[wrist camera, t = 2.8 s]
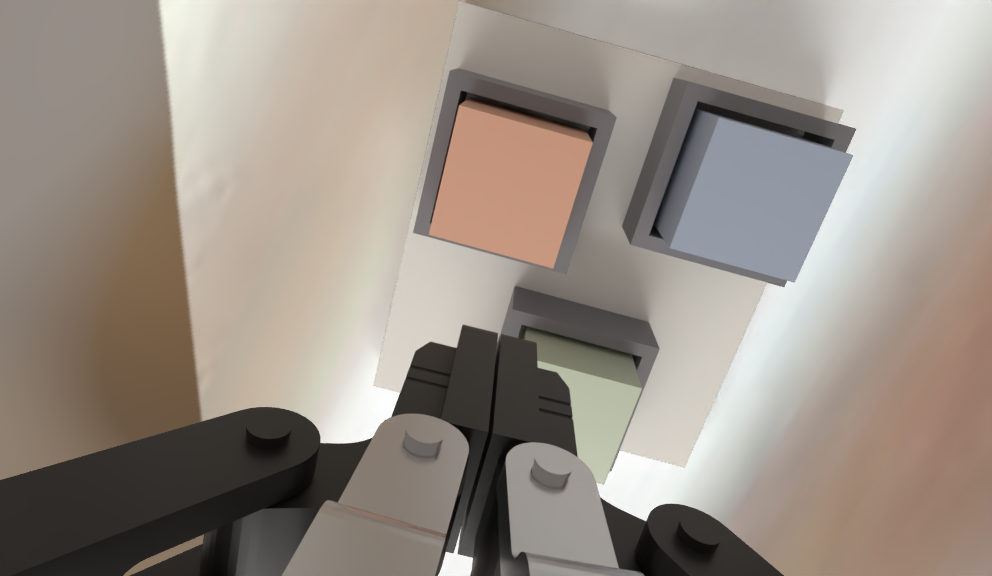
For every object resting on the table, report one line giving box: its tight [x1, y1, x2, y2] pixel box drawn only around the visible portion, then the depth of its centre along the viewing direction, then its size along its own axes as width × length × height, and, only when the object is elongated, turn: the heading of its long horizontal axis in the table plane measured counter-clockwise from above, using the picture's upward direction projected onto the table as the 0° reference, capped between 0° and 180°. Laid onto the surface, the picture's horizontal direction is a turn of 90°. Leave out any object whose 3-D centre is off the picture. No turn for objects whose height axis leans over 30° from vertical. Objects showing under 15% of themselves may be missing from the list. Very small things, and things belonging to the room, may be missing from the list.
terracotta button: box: [429, 97, 593, 268], centre depth 26 cm, size 5×5×4 cm
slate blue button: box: [654, 108, 853, 282], centre depth 26 cm, size 5×5×4 cm
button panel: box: [373, 1, 856, 471], centre depth 30 cm, size 17×19×5 cm
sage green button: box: [521, 326, 642, 485], centre depth 29 cm, size 5×5×4 cm
